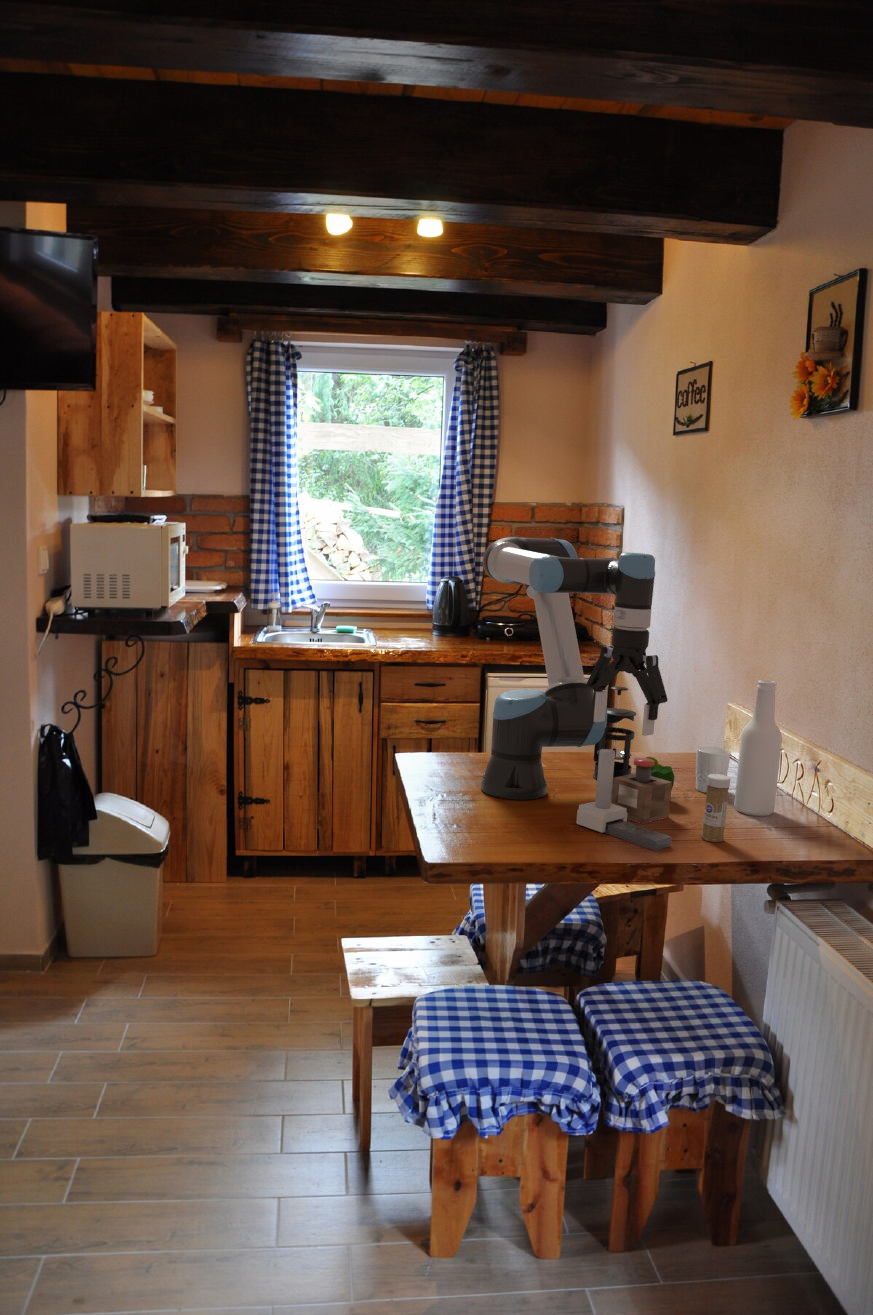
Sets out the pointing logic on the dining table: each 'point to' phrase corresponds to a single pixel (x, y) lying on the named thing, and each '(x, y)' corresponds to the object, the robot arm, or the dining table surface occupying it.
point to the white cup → (710, 764)
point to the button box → (642, 797)
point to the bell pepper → (662, 771)
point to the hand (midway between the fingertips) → (622, 728)
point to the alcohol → (759, 756)
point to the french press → (616, 738)
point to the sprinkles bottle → (715, 807)
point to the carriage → (602, 797)
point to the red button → (643, 769)
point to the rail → (638, 834)
